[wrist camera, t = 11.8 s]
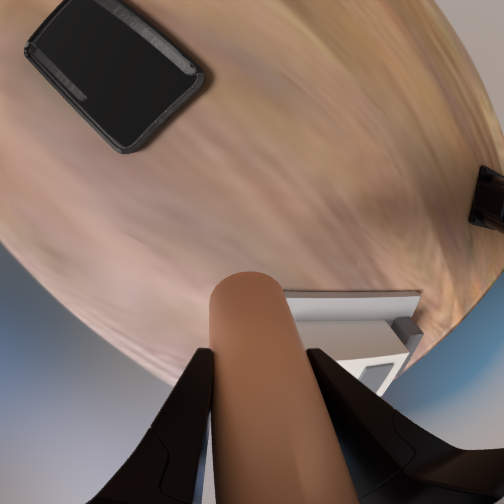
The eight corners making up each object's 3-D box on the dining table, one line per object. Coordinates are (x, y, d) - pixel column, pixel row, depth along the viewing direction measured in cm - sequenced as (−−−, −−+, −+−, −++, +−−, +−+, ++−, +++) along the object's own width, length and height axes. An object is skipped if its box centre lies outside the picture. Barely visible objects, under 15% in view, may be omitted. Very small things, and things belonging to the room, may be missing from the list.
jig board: (415, 291, 25) (437, 312, 22) (380, 366, 30) (393, 389, 26) (218, 288, 22) (219, 319, 18) (213, 378, 26) (214, 409, 23)
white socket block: (384, 319, 25) (411, 354, 20) (363, 363, 27) (382, 398, 22) (256, 319, 22) (266, 366, 18) (245, 368, 25) (252, 413, 20)
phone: (88, -23, 9) (211, 77, 15) (93, -18, 10) (211, 81, 16) (19, 51, 11) (124, 162, 16) (26, 53, 12) (129, 160, 17)
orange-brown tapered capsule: (290, 271, 11) (394, 517, 2) (279, 331, 12) (339, 536, 4) (209, 270, 10) (220, 556, 2) (209, 332, 11) (221, 554, 3)
